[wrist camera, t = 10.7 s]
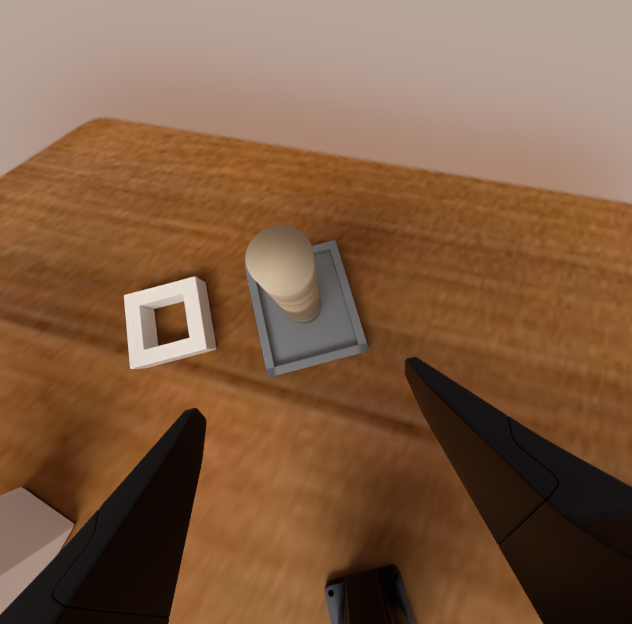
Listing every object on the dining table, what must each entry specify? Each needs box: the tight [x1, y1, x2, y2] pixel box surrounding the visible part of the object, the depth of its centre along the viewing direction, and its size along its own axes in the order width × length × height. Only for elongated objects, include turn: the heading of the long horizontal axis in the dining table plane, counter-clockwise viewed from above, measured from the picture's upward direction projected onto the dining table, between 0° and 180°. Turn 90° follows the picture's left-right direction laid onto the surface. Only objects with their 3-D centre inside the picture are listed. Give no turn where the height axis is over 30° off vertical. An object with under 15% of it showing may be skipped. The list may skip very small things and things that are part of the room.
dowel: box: [245, 225, 321, 323], centre depth 17 cm, size 4×4×12 cm
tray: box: [244, 240, 369, 378], centre depth 23 cm, size 12×10×2 cm
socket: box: [124, 276, 217, 369], centre depth 23 cm, size 8×8×2 cm
